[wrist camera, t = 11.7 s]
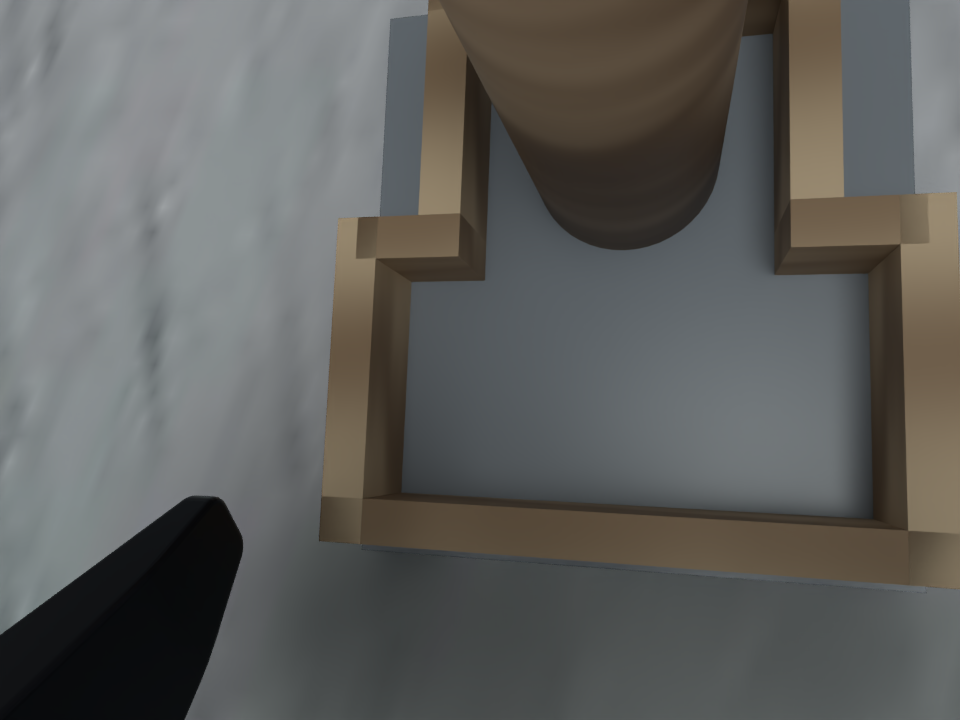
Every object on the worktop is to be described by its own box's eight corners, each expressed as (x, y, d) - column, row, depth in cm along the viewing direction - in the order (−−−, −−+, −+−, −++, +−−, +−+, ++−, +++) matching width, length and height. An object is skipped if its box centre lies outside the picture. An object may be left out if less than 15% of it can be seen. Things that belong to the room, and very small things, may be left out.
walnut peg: (658, 282, 18) (629, -85, 6) (504, 199, 19) (200, -254, 7) (755, 122, 18) (948, -621, 6) (594, 48, 19) (453, -694, 7)
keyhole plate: (912, 584, 17) (971, 618, 14) (376, 545, 20) (317, 563, 17) (895, -14, 19) (945, -117, 15) (402, 38, 22) (353, -38, 18)
